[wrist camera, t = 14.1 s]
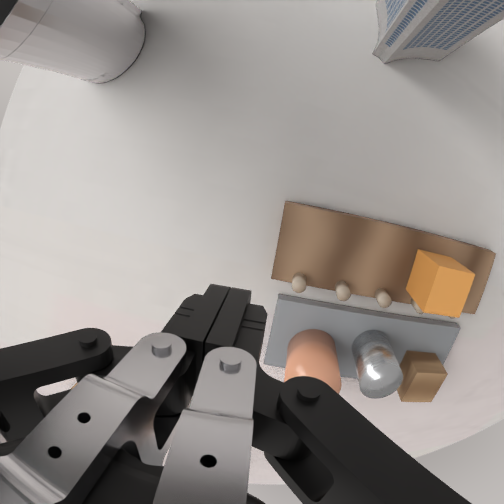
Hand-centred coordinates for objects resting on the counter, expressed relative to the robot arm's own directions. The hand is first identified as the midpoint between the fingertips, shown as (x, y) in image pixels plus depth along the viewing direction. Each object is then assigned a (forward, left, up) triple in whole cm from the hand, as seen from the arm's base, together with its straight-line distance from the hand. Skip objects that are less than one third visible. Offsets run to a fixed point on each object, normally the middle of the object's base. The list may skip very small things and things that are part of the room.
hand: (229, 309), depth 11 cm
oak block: (+12, +19, -16) cm, 28 cm away
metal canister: (+10, +13, -16) cm, 23 cm away
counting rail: (+1, +13, -17) cm, 21 cm away
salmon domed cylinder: (+12, +7, -16) cm, 21 cm away
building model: (-21, +10, -17) cm, 29 cm away
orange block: (+1, +16, -15) cm, 22 cm away
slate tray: (+11, +13, -17) cm, 24 cm away
